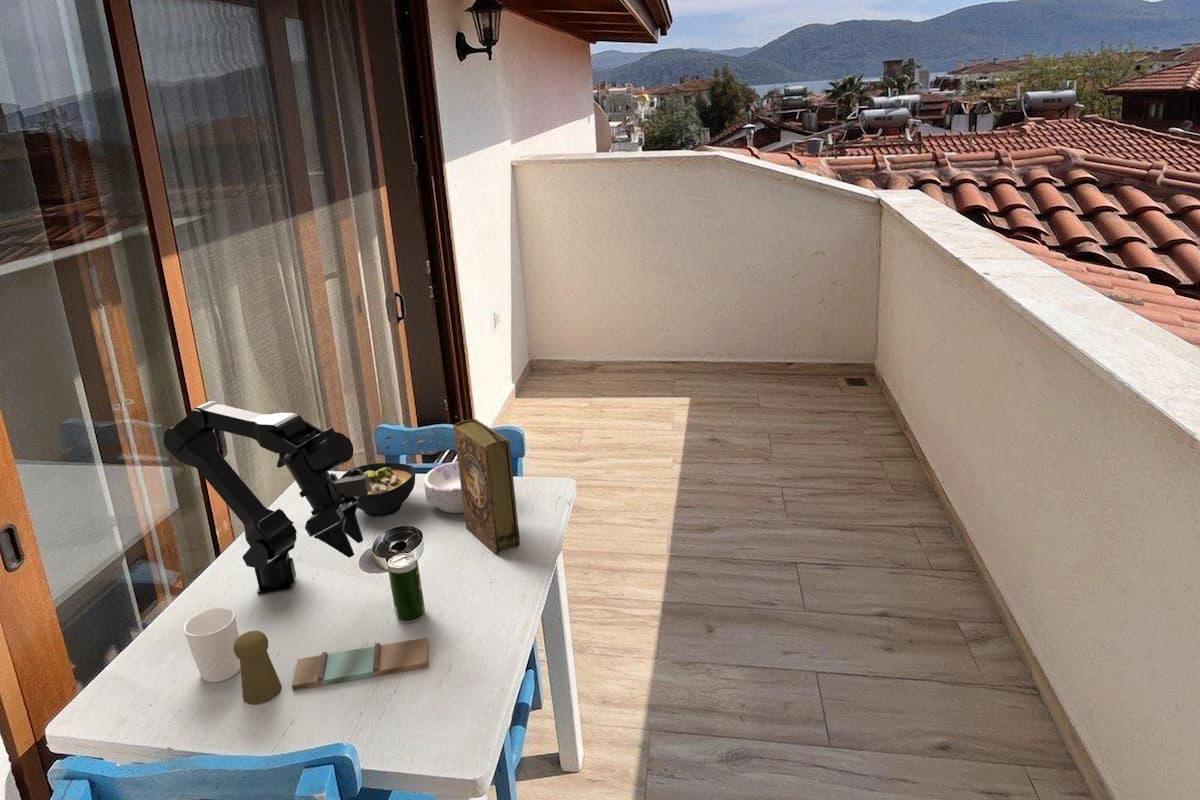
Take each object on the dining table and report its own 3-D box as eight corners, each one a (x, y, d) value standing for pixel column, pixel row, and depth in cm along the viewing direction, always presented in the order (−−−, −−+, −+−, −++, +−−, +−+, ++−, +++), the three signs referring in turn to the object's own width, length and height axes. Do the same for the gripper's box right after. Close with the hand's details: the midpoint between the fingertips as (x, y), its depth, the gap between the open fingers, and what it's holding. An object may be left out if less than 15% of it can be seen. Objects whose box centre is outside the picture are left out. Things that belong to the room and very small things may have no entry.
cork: (244, 709, 131) (230, 653, 128) (241, 687, 137) (227, 632, 133) (284, 696, 134) (271, 640, 130) (279, 675, 139) (266, 621, 135)
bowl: (410, 525, 186) (404, 486, 183) (336, 528, 187) (328, 489, 183) (426, 491, 202) (421, 454, 199) (357, 494, 203) (351, 457, 199)
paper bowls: (435, 525, 185) (431, 494, 183) (421, 498, 199) (417, 469, 196) (500, 510, 191) (496, 479, 188) (482, 484, 204) (478, 455, 201)
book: (463, 526, 184) (450, 424, 175) (485, 519, 187) (473, 417, 178) (497, 556, 171) (485, 447, 162) (520, 548, 174) (509, 440, 165)
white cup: (215, 691, 136) (202, 641, 133) (187, 676, 140) (173, 627, 137) (256, 663, 142) (244, 615, 139) (228, 650, 146) (216, 602, 143)
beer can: (402, 628, 150) (393, 571, 146) (392, 614, 154) (382, 559, 150) (430, 617, 152) (421, 561, 148) (419, 604, 157) (410, 549, 152)
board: (293, 690, 135) (291, 683, 135) (298, 663, 142) (297, 656, 141) (427, 667, 139) (426, 659, 138) (427, 642, 145) (426, 635, 145)
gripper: (341, 466, 143) (386, 542, 145) (360, 448, 161) (400, 515, 164) (284, 497, 142) (331, 572, 145) (310, 476, 161) (351, 542, 163)
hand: (356, 548), depth 154 cm, fingers open, 9 cm apart
